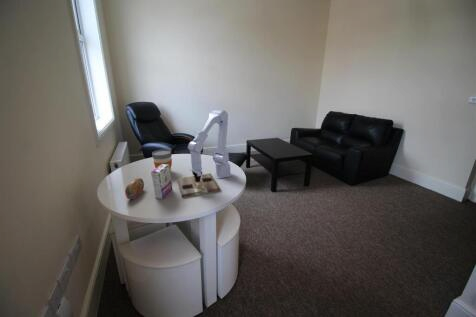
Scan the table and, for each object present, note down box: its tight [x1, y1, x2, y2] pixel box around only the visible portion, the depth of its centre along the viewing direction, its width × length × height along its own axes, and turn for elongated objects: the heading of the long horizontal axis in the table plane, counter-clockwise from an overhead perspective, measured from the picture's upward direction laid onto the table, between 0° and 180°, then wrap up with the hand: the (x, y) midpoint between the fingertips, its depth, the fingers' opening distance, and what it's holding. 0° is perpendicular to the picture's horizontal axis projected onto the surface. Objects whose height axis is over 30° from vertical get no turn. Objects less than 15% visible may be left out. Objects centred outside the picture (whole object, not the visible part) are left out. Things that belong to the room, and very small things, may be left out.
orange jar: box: [152, 149, 173, 174], centre depth 151 cm, size 13×13×15 cm
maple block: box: [196, 181, 205, 191], centre depth 125 cm, size 4×4×4 cm
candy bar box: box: [150, 164, 173, 200], centre depth 122 cm, size 11×5×16 cm, turn 168°
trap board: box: [176, 173, 221, 198], centre depth 134 cm, size 22×22×2 cm
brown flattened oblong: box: [124, 178, 145, 200], centre depth 123 cm, size 15×3×8 cm, turn 174°
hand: (197, 182), depth 132 cm, fingers closed
